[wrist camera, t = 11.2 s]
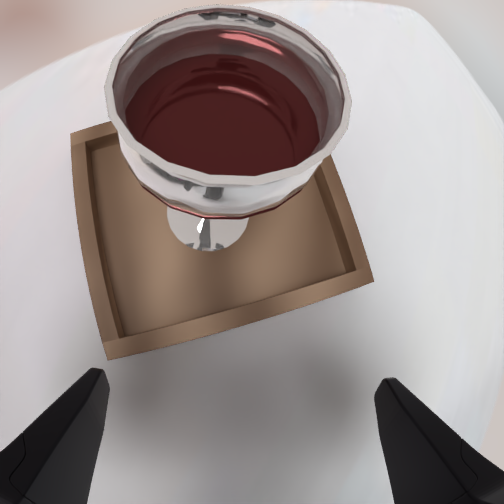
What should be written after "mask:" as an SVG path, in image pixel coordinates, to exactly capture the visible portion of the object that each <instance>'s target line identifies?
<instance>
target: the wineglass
mask: <svg viewBox="0 0 504 504" xmlns="http://www.w3.org/2000/svg"><path fill="white" fill-rule="evenodd" d="M104 90H105V98H106V105H107V111H108V117H109V119H110V120H111V122H112V123H113V125H114V126H115V128H116V132H117V137H118V142H119V148H120V152H121V156H122V158H123V159H124V161H125V162H126V164H127V165H128V167H129V168H130V170H131V171H132V173H133V174H134V176H135V177H136V179H137V180H138V182H139V183H140V185H141V186H142V188H143V189H145V190H146V191H147V192H149V193H150V194H152V195H153V196H154V197H156V198H157V199H158V200H160V201H161V202H163V203H164V204H165V205H167V218H168V222H169V225H170V229H171V230H172V231H173V233H174V234H175V236H176V237H177V238H178V239H179V240H180V241H181V242H183V243H184V244H185V245H187V246H188V247H190V248H194V249H197V250H200V251H217V250H220V249H223V248H226V247H228V246H230V245H231V244H232V243H234V242H235V241H237V240H238V239H239V237H240V236H241V235H242V233H243V232H244V231H245V229H246V226H247V223H248V219H249V217H252V216H255V215H259V214H262V213H265V212H269V211H272V210H275V209H277V208H278V207H279V206H281V205H282V204H284V203H285V202H287V201H288V200H289V199H291V198H292V197H294V196H295V195H297V194H298V193H299V192H301V190H302V189H303V188H304V187H305V186H306V185H307V183H308V182H309V180H310V179H311V178H312V176H313V175H314V173H315V172H316V170H317V169H318V167H319V166H320V164H321V163H322V161H323V159H324V158H325V157H327V156H329V155H330V154H331V153H332V151H333V150H334V148H335V147H336V145H337V144H338V142H339V141H340V139H341V138H342V136H343V135H344V133H345V132H346V130H347V129H348V124H349V117H350V111H351V104H352V100H351V95H350V91H349V87H348V83H347V79H346V76H345V73H344V72H343V70H342V69H341V67H340V66H339V64H338V62H337V61H336V59H335V58H334V56H333V55H332V53H331V52H330V50H328V49H327V48H326V47H325V46H324V45H323V44H322V43H321V42H320V41H319V40H317V39H316V38H315V37H314V36H313V35H312V34H311V33H309V32H308V31H307V30H305V29H303V28H302V27H300V26H298V25H296V24H294V23H292V22H291V21H289V20H287V19H285V18H283V17H281V16H279V15H275V14H272V13H269V12H265V11H262V10H259V9H255V8H251V7H245V6H234V5H219V4H216V5H207V6H199V7H192V8H186V9H182V10H179V11H176V12H174V13H171V14H168V15H165V16H163V17H160V18H158V19H155V20H154V21H152V22H151V23H149V24H148V25H146V26H145V27H143V28H142V29H140V30H139V31H138V32H136V33H135V34H133V35H132V36H131V37H130V38H129V39H128V40H127V41H126V43H125V44H124V45H123V46H122V48H121V49H120V50H119V52H118V53H117V54H116V55H115V57H114V58H113V59H112V62H111V65H110V69H109V72H108V75H107V79H106V82H105V85H104Z"/></svg>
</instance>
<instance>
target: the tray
mask: <svg viewBox="0 0 504 504" xmlns="http://www.w3.org/2000/svg"><path fill="white" fill-rule="evenodd" d="M70 135H71V159H72V175H73V187H74V197H75V206H76V215H77V223H78V230H79V237H80V243H81V249H82V255H83V261H84V266H85V272H86V277H87V282H88V286H89V291H90V296H91V300H92V304H93V309H94V313H95V317H96V321H97V325H98V328H99V332H100V336H101V339H102V343H103V346H104V350H105V353H106V357H107V360H112V359H117V358H121V357H126V356H130V355H134V354H138V353H143V352H147V351H151V350H155V349H159V348H163V347H167V346H171V345H175V344H179V343H182V342H186V341H190V340H194V339H197V338H201V337H205V336H208V335H212V334H215V333H219V332H222V331H226V330H229V329H233V328H236V327H240V326H243V325H246V324H250V323H253V322H256V321H260V320H263V319H266V318H269V317H273V316H276V315H279V314H282V313H285V312H288V311H291V310H294V309H297V308H301V307H304V306H307V305H310V304H313V303H315V302H318V301H321V300H324V299H327V298H330V297H333V296H336V295H339V294H341V293H344V292H347V291H350V290H353V289H355V288H358V287H361V286H364V285H366V284H369V283H372V282H374V279H373V275H372V272H371V269H370V265H369V262H368V259H367V255H366V252H365V249H364V246H363V243H362V240H361V237H360V233H359V230H358V227H357V224H356V222H355V219H354V216H353V213H352V210H351V207H350V204H349V202H348V199H347V196H346V193H345V191H344V188H343V185H342V182H341V180H340V177H339V175H338V172H337V169H336V167H335V164H334V162H333V159H332V157H331V154H330V155H329V156H327V157H325V158H324V159H323V161H322V163H321V164H320V166H319V167H318V169H317V170H316V172H315V173H314V175H313V176H312V178H311V179H310V180H309V182H308V183H307V185H306V186H305V187H304V188H303V189H302V190H301V192H299V193H298V194H297V195H295V196H294V197H292V198H291V199H289V200H288V201H287V202H285V203H284V204H282V205H281V206H279V207H278V208H277V209H275V210H272V211H269V212H265V213H262V214H259V215H255V216H252V217H249V219H248V223H247V226H246V229H245V231H244V232H243V233H242V235H241V236H240V237H239V239H238V240H237V241H235V242H234V243H232V244H231V245H230V246H228V247H226V248H223V249H220V250H217V251H200V250H197V249H194V248H190V247H188V246H187V245H185V244H184V243H183V242H181V241H180V240H179V239H178V238H177V237H176V236H175V234H174V233H173V231H172V230H171V229H170V225H169V222H168V218H167V205H165V204H164V203H163V202H161V201H160V200H158V199H157V198H156V197H154V196H153V195H152V194H150V193H149V192H147V191H146V190H145V189H143V188H142V186H141V185H140V183H139V182H138V180H137V179H136V177H135V176H134V174H133V173H132V171H131V170H130V168H129V167H128V165H127V164H126V162H125V161H124V159H123V158H122V156H121V152H120V148H119V142H118V137H117V132H116V128H115V126H114V125H113V123H112V122H111V121H109V122H106V123H103V124H99V125H96V126H93V127H89V128H86V129H83V130H80V131H77V132H74V133H71V134H70Z"/></svg>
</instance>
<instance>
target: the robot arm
mask: <svg viewBox="0 0 504 504" xmlns="http://www.w3.org/2000/svg"><path fill="white" fill-rule="evenodd" d="M109 392H110V387H109V383H108V380H107V377H106V374H105V372H104V370H103V369H98V368H91V369H89V370H88V371H87V372H86V373H85V374H84V375H83V376H82V377H80V378H79V379H78V380H77V381H76V382H75V383H74V384H73V385H72V386H71V387H70V388H69V389H68V390H66V391H65V392H64V393H63V394H62V395H61V396H60V397H59V398H58V399H57V400H56V401H55V402H54V403H53V404H52V405H50V406H49V407H48V408H47V409H46V410H45V411H44V412H43V413H42V414H41V415H40V416H39V417H38V418H37V419H36V420H35V421H34V422H33V423H31V424H30V425H29V426H28V427H27V428H26V429H25V430H24V431H23V433H21V434H20V435H19V436H18V437H17V438H16V439H15V440H14V441H12V442H11V443H10V444H9V445H8V446H7V447H6V448H5V449H3V450H2V451H1V452H0V504H87V501H88V496H89V491H90V486H91V482H92V477H93V473H94V468H95V464H96V460H97V456H98V451H99V447H100V443H101V440H102V435H103V431H104V425H105V418H106V411H107V404H108V398H109ZM374 400H375V407H376V414H377V422H378V429H379V436H380V440H381V445H382V449H383V453H384V457H385V462H386V466H387V470H388V475H389V479H390V484H391V489H392V494H393V498H394V503H395V504H504V471H503V470H501V469H500V468H499V467H497V466H496V465H494V464H493V463H492V462H490V461H489V460H487V459H486V458H485V457H483V456H482V455H481V454H480V453H478V452H477V451H476V450H475V449H474V448H472V447H471V446H470V445H469V444H468V443H467V442H466V441H465V440H463V439H461V437H460V436H459V435H458V434H457V433H456V432H455V431H453V430H452V429H451V428H450V427H449V426H448V425H447V424H446V423H445V422H444V421H442V420H441V419H440V418H439V417H438V416H437V415H436V414H435V413H434V412H433V411H431V410H430V409H429V408H428V407H427V406H426V405H425V404H424V403H423V402H422V401H420V400H419V399H418V398H417V397H416V396H415V395H414V394H413V393H412V392H410V391H409V390H408V389H407V388H406V387H405V386H404V385H403V384H402V383H401V382H399V381H398V380H397V379H396V378H393V377H392V378H384V379H383V380H382V382H381V383H380V385H379V387H378V389H377V390H376V392H375V396H374Z"/></svg>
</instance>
